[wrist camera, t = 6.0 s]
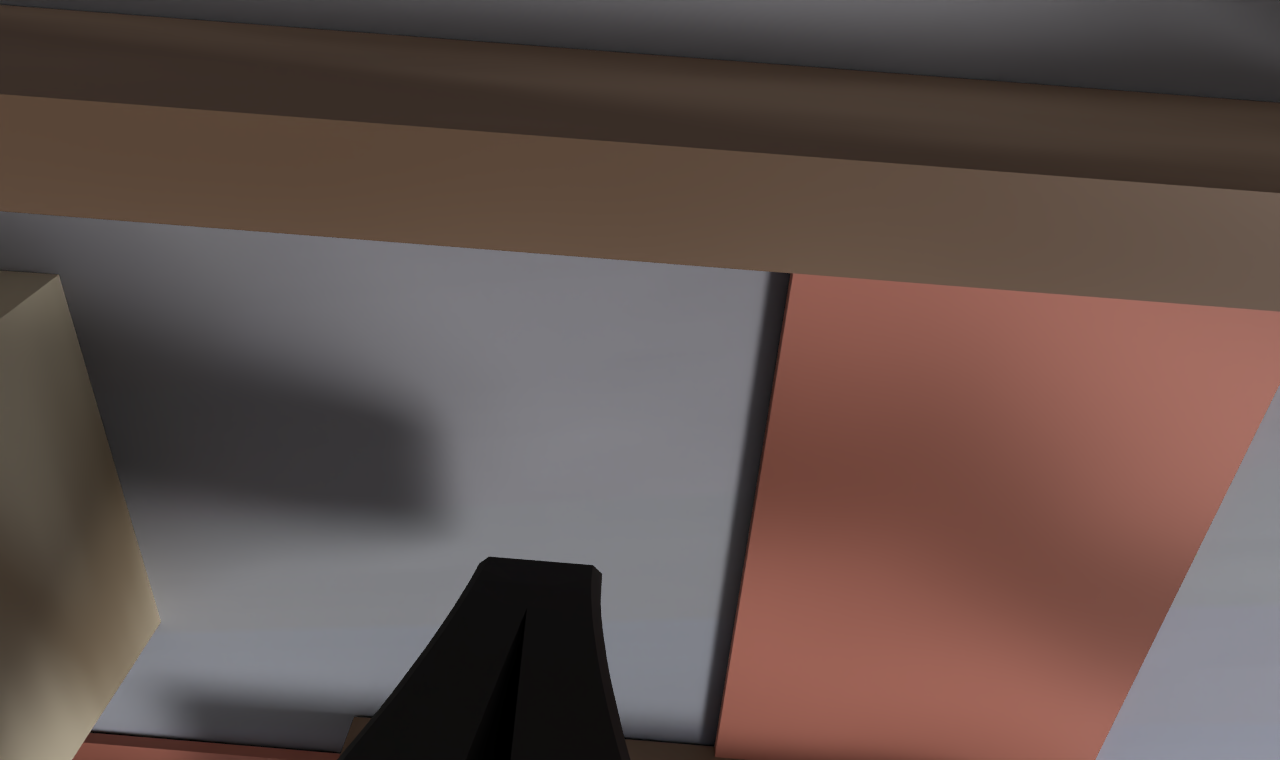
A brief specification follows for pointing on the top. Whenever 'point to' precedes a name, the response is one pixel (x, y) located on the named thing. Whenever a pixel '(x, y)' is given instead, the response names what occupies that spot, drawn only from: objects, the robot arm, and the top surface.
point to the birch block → (59, 535)
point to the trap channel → (784, 322)
